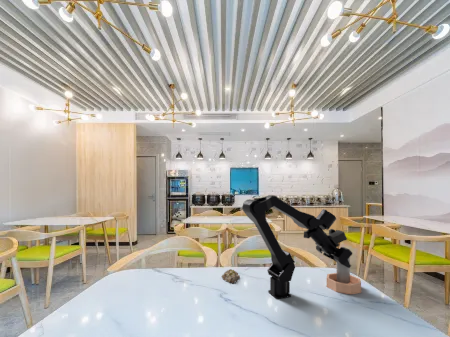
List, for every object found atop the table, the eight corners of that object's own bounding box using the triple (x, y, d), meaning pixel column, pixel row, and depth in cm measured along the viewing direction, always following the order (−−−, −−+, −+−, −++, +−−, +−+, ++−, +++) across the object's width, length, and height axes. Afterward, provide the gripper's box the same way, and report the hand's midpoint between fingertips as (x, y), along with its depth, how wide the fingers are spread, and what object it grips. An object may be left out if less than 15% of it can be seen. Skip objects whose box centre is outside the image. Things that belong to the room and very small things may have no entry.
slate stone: (347, 284, 99) (347, 253, 100) (334, 281, 103) (334, 250, 104) (351, 281, 103) (351, 250, 104) (339, 278, 107) (339, 248, 107)
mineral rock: (220, 269, 116) (236, 264, 117) (222, 278, 116) (239, 273, 117) (221, 279, 105) (239, 273, 106) (223, 289, 105) (242, 283, 106)
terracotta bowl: (343, 295, 95) (343, 286, 95) (320, 283, 107) (320, 274, 107) (368, 291, 99) (368, 282, 99) (343, 279, 111) (343, 271, 111)
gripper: (347, 228, 95) (374, 257, 95) (322, 220, 113) (345, 245, 114) (327, 249, 93) (355, 278, 94) (305, 238, 112) (329, 263, 112)
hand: (346, 264), depth 104 cm, fingers closed on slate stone, 5 cm apart
